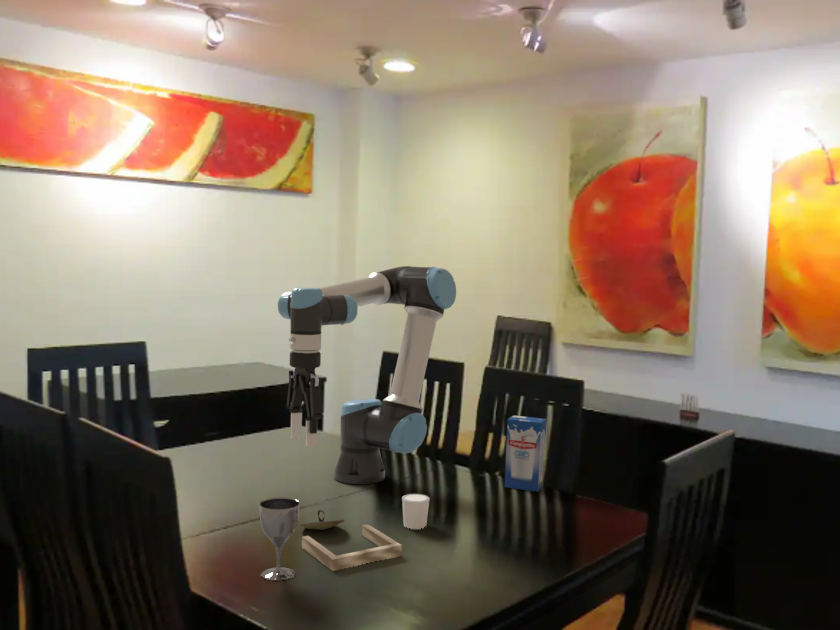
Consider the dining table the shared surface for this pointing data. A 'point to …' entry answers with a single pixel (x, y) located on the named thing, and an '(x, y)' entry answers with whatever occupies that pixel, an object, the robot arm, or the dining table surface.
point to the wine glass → (279, 530)
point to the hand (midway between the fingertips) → (303, 441)
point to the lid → (321, 523)
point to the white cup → (415, 510)
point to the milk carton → (525, 453)
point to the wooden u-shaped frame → (333, 562)
